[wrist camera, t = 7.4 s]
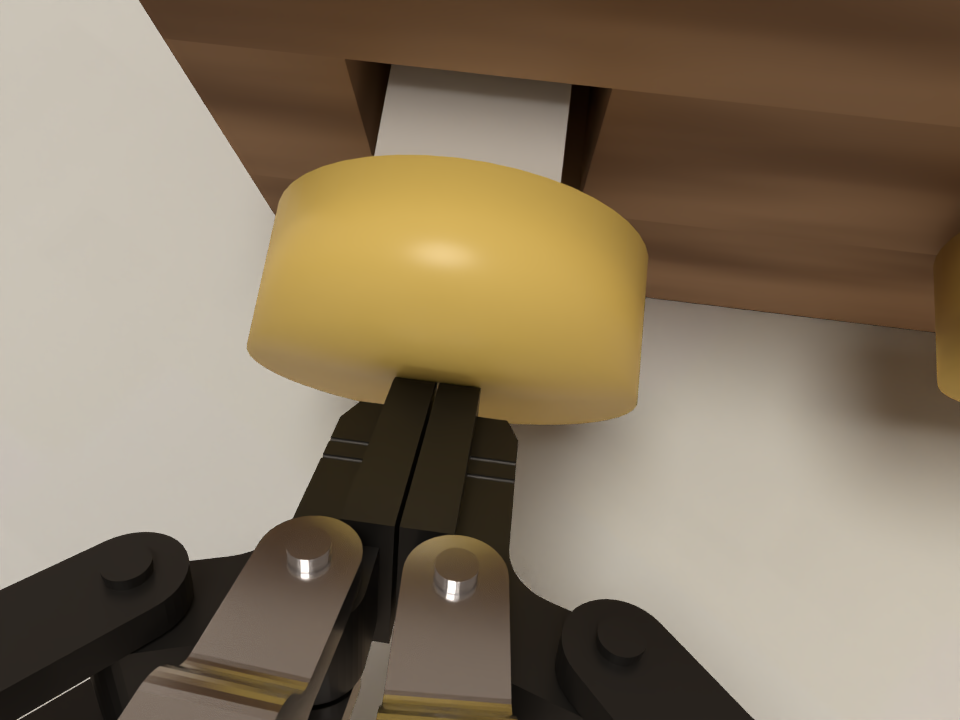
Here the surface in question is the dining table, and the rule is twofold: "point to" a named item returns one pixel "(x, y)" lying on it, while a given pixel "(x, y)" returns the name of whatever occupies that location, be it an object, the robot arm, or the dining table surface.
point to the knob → (457, 261)
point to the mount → (655, 128)
